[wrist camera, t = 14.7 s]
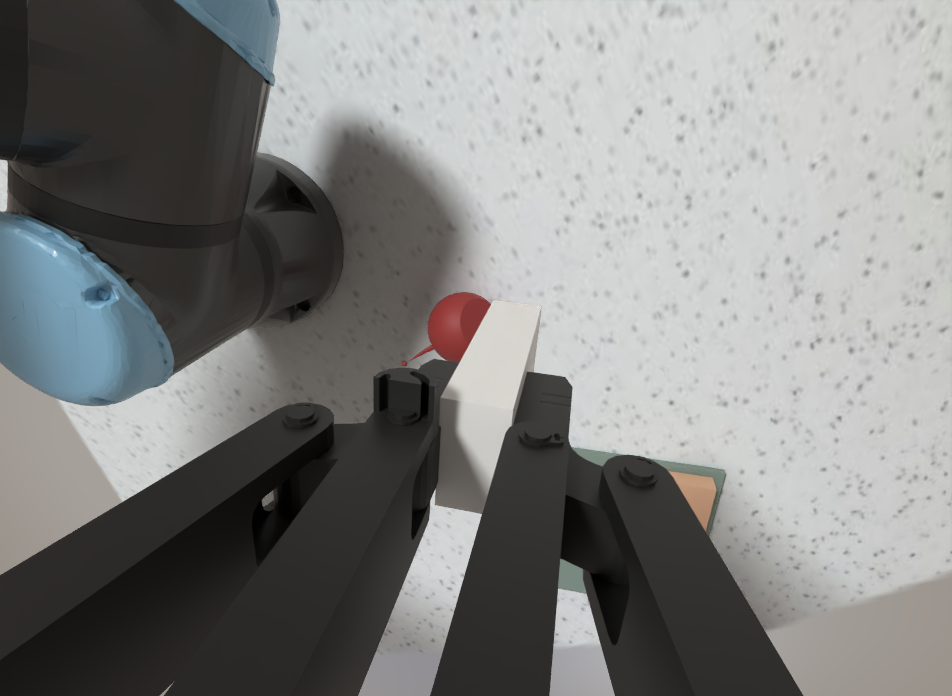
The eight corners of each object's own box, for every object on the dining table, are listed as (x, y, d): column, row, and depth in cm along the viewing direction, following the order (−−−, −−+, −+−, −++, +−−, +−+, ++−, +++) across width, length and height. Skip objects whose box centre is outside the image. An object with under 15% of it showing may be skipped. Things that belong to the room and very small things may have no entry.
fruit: (444, 289, 51) (382, 332, 46) (485, 275, 46) (422, 321, 41) (475, 346, 52) (418, 394, 47) (517, 337, 48) (460, 389, 43)
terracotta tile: (599, 535, 52) (699, 552, 50) (610, 473, 49) (716, 489, 48) (599, 521, 54) (696, 537, 52) (609, 461, 51) (712, 476, 49)
